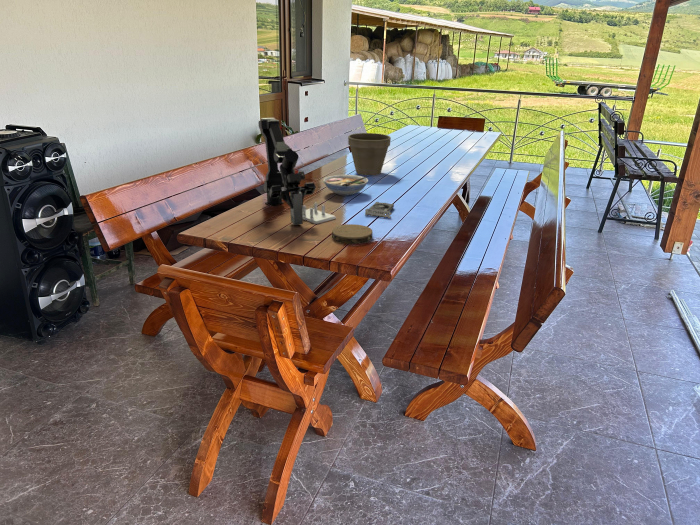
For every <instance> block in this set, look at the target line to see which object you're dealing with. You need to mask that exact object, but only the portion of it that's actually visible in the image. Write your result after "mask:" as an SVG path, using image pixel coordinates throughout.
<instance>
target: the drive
mask: <svg viewBox="0 0 700 525" xmlns="http://www.w3.org/2000/svg"><path fill="white" fill-rule="evenodd" d="M289 195H290V198H291V201H292V204H293V209H291V207H290V206H289V207H290V222H291V223H292V224H293V225H294V226H297V225H303V224H304V219H303V207H302V193H301V192H300V191H290V193H289Z"/></svg>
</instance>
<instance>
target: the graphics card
mask: <svg viewBox="0 0 700 525" xmlns="http://www.w3.org/2000/svg"><path fill="white" fill-rule="evenodd" d="M394 206H395V203H388V202H379V201H376V202H374V203H373V204H372V205H371V206H370V207H369V208H366V209H365V212H364V216H365V215H366V216H367V215H370V216H369V217H373V216H379V218H380V217H384V218H383V219H385V217H388V219H392V216H391V215H392V214H393V213H392V212H391V211H392V210H393V209H394ZM385 214H386V215H385Z"/></svg>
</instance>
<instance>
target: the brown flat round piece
mask: <svg viewBox="0 0 700 525" xmlns="http://www.w3.org/2000/svg"><path fill="white" fill-rule="evenodd" d="M331 238H333V239H334V240H333V239H332V240H333V241H335V242H337V243H340V242H341V243H340V244H344V243H346V245H360V244H359V243H361V244H365V242H366V243H368V242H370V241H372V239H373V228H371V227H369V226H366V225H363V224H354V223H352V224H351V223H350V224H340V225H338V226H335V227H333V228H332V229H331Z"/></svg>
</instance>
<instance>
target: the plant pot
mask: <svg viewBox="0 0 700 525" xmlns="http://www.w3.org/2000/svg"><path fill="white" fill-rule="evenodd" d="M347 139H348V140H347V141H348V142H347V144H348V146H349V148H350V153H351V156H352V160H353V165H354V168H355V172H356V174H357V173H358V174H357V175H360V174H361V175H360V176H367V175H372V176H377V175H380V174H381V172H382V170H383V167H384V163H385V160H386V157H387V156H386V155H387V153H388V149H389V147H390V146H391V140H392V139H391V136H390V135H388V134H383V133H377V132H373V133H372V132H359V133H357V132H356V133H352V134H349V135H348V137H347Z"/></svg>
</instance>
